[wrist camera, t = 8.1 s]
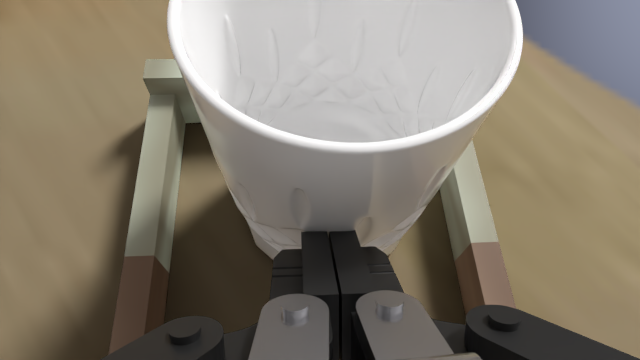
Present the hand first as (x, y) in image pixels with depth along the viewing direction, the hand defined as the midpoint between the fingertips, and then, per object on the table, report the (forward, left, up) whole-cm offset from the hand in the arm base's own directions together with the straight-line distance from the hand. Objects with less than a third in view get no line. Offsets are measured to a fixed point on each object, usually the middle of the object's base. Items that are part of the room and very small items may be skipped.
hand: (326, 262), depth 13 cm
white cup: (0, +4, -5) cm, 7 cm away
